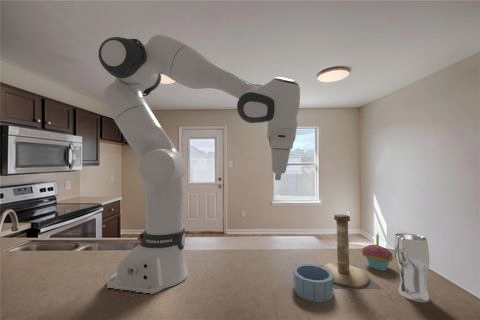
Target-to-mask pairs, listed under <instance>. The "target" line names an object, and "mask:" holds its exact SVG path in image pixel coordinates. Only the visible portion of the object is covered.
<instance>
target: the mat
mask: <svg viewBox="0 0 480 320" xmlns="http://www.w3.org/2000/svg"><path fill="white" fill-rule="evenodd" d="M323 265H324V264H323ZM323 265H317V266H323ZM351 266H354V267H357V266H356V265H351ZM337 289H340V290H341V289H342V290H343V289H348V290H349V289H352V290H353V289H354V290H355V289H357V290H359V289H363V290H364V289H365V290H367V289H371V290H373V289H375V290H377V289H379V290H380V289H383V287H382V286H380V285H378V284H377V282H375V281H374V280H373V279H372V278H371V277H369V283H368V284H367V285H366V286H363V287H346V286H341V285H338V284H335V283H334V290H337Z"/></svg>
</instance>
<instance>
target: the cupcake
mask: <svg viewBox="0 0 480 320" xmlns="http://www.w3.org/2000/svg"><path fill="white" fill-rule="evenodd" d="M375 237H376V243H375V244H368V245H366V246H364V247H363V248H362V250H361V251H362V252H361V253H362V256H364V257H365V258H366V260H367V262H368V265H369V267H370V268H372V269H374V270H376V271H387V270H388V267H389V265H390V263H391V262H392V261H393V260H394V257H393V253H392V252H391V251H390V250H389V249H387V248H385V247H383V246H381V245H379V243H380V242H379V241H380V240H379V239H380V236H379V233H378V232H377V233H376V235H375Z"/></svg>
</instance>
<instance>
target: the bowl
mask: <svg viewBox="0 0 480 320" xmlns="http://www.w3.org/2000/svg"><path fill="white" fill-rule="evenodd" d="M292 278H293V279H292V284H293V291H294V292H295V295H297V296H299V297H301V298H302V299H303V300H305V301H309V302H313V303H326V302H328V301H332V300H333V299H334V294H335V291H334V290H335V289H334V283H333V274H332V273H331V272H330V271H329V270H328V269H326V268H324V267H322V266H317V265H316V264H310V263H309V264H299V265H297V266H295V267H294V268H293V270H292Z"/></svg>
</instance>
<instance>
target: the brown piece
mask: <svg viewBox="0 0 480 320" xmlns="http://www.w3.org/2000/svg"><path fill="white" fill-rule="evenodd" d="M333 220H334V221H336V222H335V223H336V251H337V252H336V253H337V262H329V263H325V264H323V266H322V267H324V268H326V269H328V270H329V271H330V272H331V273H332V274H333V283H335V284H338V285H341V286H346V287H363V286H366V285H367V284H368V283H369V278H370V276H369V275H368V274H367V272H365V271H364V270H363V269H362V268H358V266H356V267H354V266H351V265H350V249H349V248H350V247H349V246H350V245H349V243H350V241H349V222H351V216H350V215H348V214H340V213H339V214H334V216H333Z"/></svg>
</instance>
